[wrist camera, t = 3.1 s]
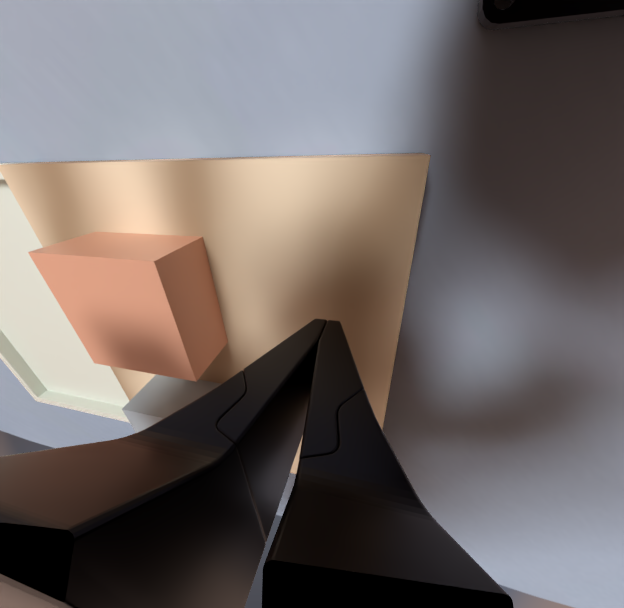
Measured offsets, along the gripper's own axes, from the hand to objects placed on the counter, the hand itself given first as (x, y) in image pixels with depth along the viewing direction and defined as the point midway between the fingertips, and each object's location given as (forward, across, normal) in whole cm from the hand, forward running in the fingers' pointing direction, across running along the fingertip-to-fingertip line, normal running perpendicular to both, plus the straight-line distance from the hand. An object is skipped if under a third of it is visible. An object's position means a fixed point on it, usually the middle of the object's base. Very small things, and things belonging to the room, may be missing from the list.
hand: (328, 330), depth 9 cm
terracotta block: (+2, +8, 0) cm, 8 cm away
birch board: (+4, +6, +4) cm, 8 cm away
